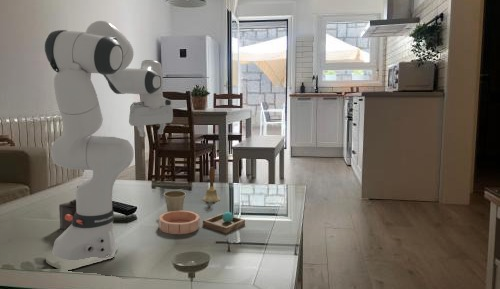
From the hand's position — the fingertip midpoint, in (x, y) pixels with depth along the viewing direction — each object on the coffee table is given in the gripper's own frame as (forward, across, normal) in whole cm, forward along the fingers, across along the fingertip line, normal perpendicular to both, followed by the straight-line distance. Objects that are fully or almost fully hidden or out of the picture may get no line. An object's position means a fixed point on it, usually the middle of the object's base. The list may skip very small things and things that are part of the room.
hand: (151, 135), depth 172 cm
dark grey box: (+34, -28, +6) cm, 45 cm away
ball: (+32, +11, -30) cm, 46 cm away
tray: (+34, +11, -30) cm, 47 cm away
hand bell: (+34, +33, -4) cm, 48 cm away
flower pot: (+34, +8, -6) cm, 36 cm away
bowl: (+34, -2, -19) cm, 39 cm away
